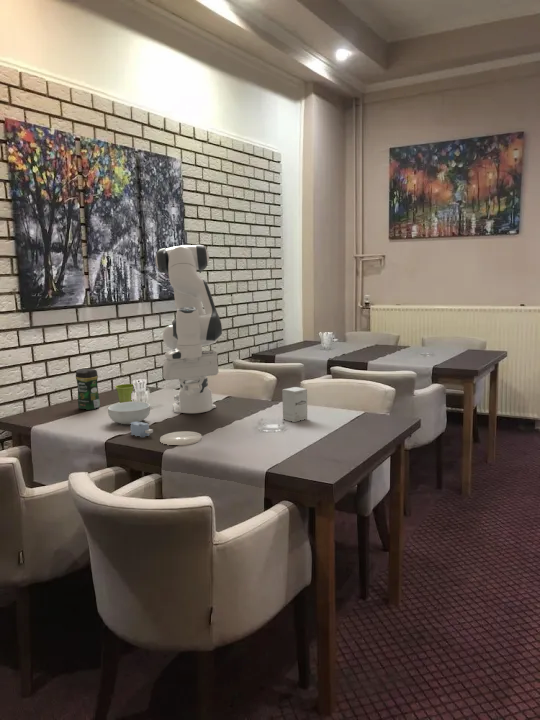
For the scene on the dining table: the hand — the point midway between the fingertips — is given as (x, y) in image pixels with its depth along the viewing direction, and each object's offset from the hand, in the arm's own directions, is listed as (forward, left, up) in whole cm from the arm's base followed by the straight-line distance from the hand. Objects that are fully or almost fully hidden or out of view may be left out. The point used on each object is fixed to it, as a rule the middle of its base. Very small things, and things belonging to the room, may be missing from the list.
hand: (192, 389), depth 212 cm
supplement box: (-4, +43, -18) cm, 47 cm away
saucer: (+1, -6, -18) cm, 19 cm away
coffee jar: (-70, -30, -18) cm, 78 cm away
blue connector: (-13, -18, -18) cm, 28 cm away
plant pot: (-70, -13, -18) cm, 73 cm away
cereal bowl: (-34, -18, -18) cm, 42 cm away
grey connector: (0, 0, -2) cm, 2 cm away
